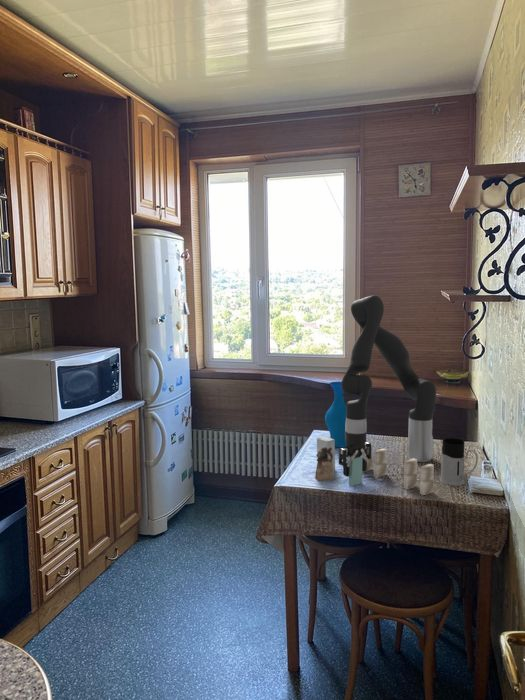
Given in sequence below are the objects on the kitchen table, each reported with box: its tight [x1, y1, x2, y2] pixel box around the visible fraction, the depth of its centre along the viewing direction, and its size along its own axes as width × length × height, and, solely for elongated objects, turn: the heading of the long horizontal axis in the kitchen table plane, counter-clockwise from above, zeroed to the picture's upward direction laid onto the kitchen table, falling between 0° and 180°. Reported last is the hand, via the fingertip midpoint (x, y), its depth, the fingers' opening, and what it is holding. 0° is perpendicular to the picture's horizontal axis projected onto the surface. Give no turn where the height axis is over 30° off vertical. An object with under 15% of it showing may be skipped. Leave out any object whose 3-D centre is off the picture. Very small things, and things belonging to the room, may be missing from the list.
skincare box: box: [316, 436, 336, 470], centre depth 206 cm, size 6×4×12 cm
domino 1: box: [348, 456, 363, 487], centre depth 190 cm, size 5×2×10 cm, turn 126°
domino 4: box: [403, 458, 418, 490], centre depth 187 cm, size 5×2×10 cm, turn 126°
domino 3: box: [373, 448, 388, 479], centre depth 198 cm, size 5×2×10 cm, turn 126°
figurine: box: [314, 446, 335, 482], centre depth 196 cm, size 7×7×12 cm
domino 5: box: [419, 463, 435, 496], centre depth 181 cm, size 5×2×10 cm, turn 126°
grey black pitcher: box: [439, 437, 479, 487], centre depth 190 cm, size 9×14×15 cm, turn 35°
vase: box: [324, 381, 347, 448], centre depth 235 cm, size 12×13×28 cm
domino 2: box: [362, 443, 374, 473], centre depth 203 cm, size 5×2×10 cm, turn 126°
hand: (355, 473), depth 191 cm, fingers open, 8 cm apart
